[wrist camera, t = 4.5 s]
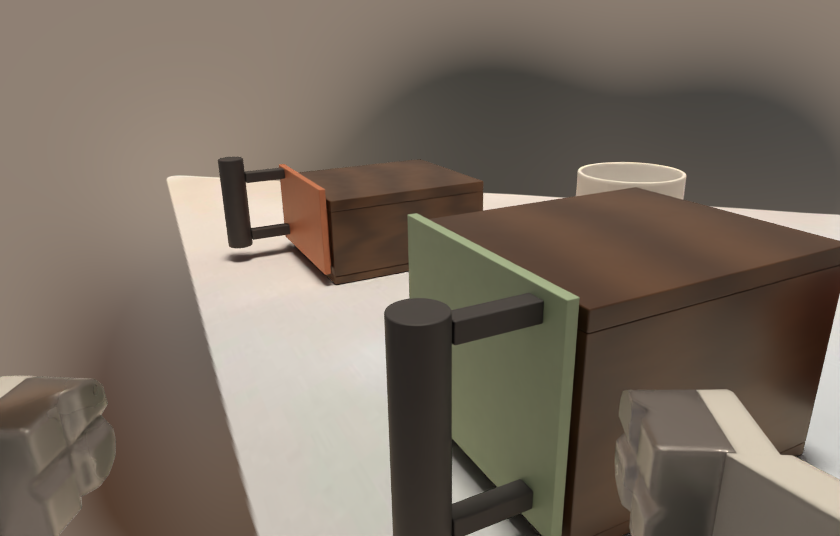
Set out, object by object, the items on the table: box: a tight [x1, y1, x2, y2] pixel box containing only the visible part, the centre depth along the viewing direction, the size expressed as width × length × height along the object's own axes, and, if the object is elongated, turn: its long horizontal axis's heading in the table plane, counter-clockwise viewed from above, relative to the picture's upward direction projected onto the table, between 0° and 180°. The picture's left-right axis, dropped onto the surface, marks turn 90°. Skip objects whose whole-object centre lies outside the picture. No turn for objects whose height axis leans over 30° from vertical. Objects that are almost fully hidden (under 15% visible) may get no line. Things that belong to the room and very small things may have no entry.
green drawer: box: [384, 213, 580, 536], centre depth 33 cm, size 22×14×11 cm, turn 117°
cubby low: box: [299, 159, 483, 285], centre depth 66 cm, size 16×14×8 cm
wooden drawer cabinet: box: [429, 187, 840, 536], centre depth 35 cm, size 16×14×12 cm
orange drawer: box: [218, 157, 331, 275], centre depth 64 cm, size 22×14×9 cm, turn 117°
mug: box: [576, 162, 686, 200], centre depth 56 cm, size 9×12×11 cm
